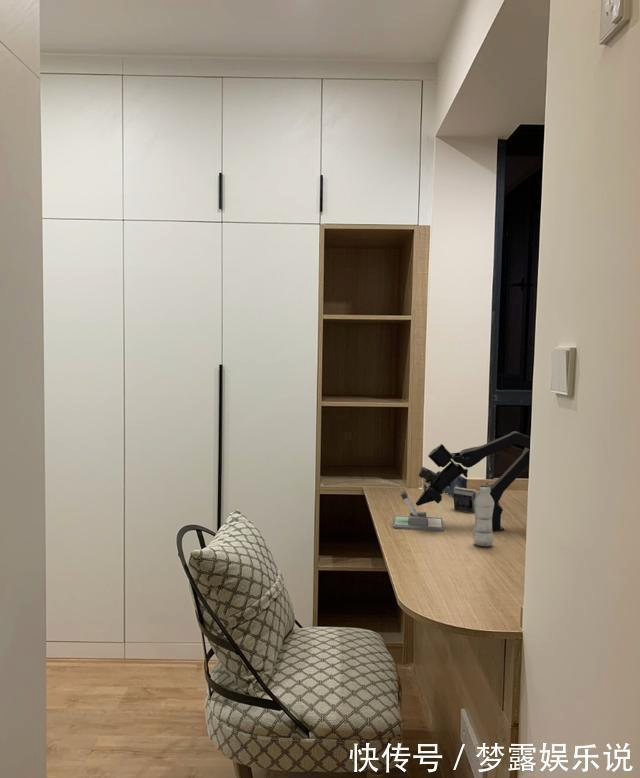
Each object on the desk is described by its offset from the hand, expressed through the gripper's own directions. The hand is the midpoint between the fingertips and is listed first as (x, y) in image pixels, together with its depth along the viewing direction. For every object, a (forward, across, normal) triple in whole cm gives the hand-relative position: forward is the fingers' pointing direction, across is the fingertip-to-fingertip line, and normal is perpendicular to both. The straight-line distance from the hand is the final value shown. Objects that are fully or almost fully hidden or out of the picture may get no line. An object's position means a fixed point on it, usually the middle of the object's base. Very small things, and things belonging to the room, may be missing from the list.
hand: (416, 504), depth 230 cm
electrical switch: (-8, -22, +19) cm, 30 cm away
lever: (+3, 0, +4) cm, 5 cm away
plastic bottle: (-10, +20, +21) cm, 31 cm away
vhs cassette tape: (-6, -44, +17) cm, 48 cm away
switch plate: (+5, 0, +6) cm, 7 cm away
